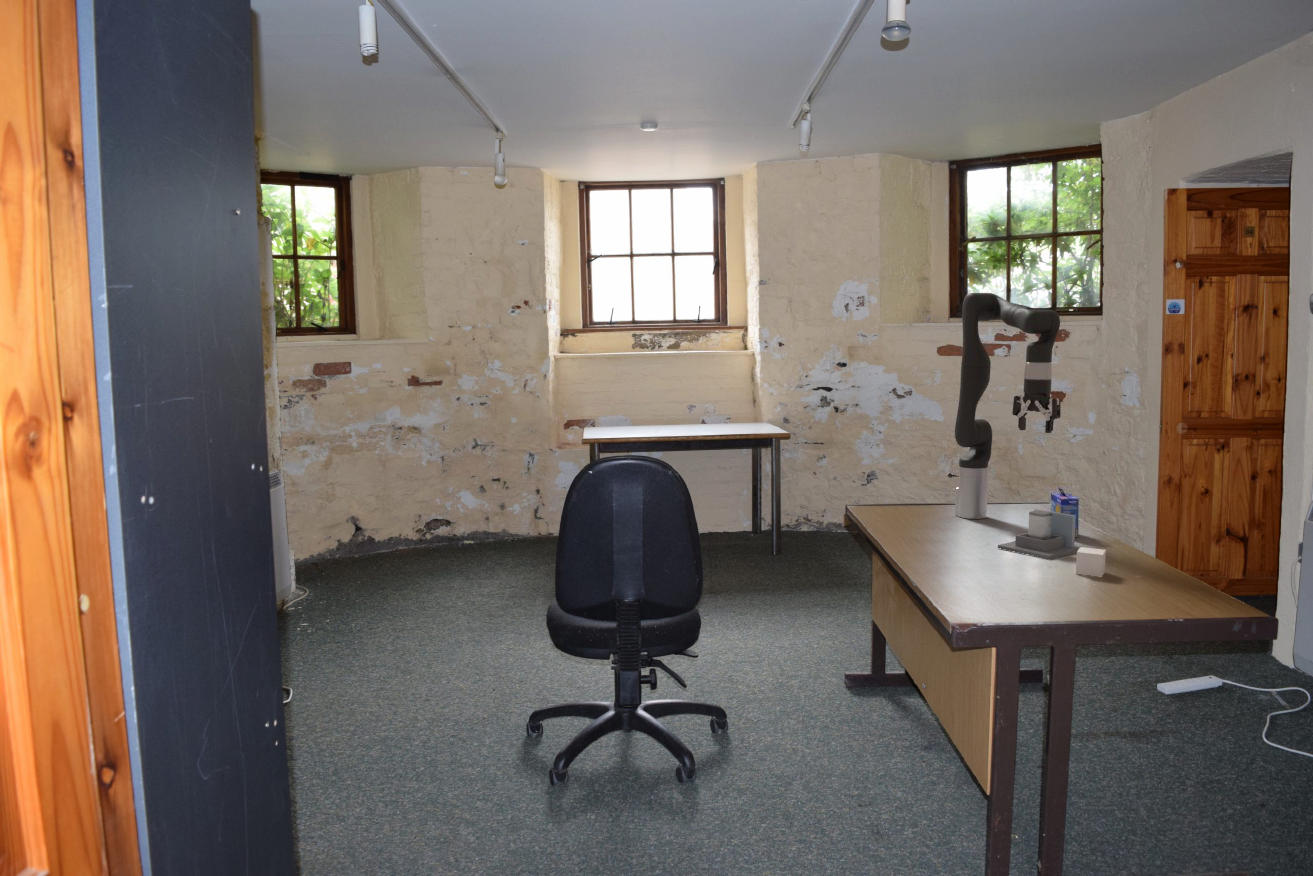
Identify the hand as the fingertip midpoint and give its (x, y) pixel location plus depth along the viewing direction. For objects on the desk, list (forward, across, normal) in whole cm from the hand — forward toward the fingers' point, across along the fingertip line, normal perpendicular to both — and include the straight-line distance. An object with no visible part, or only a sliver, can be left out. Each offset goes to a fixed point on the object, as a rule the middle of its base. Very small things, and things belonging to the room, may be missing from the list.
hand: (1035, 431), depth 261 cm
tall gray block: (+31, -11, +12) cm, 35 cm away
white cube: (+32, -33, +24) cm, 52 cm away
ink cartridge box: (+33, -4, -12) cm, 35 cm away
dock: (+32, -11, +12) cm, 36 cm away
